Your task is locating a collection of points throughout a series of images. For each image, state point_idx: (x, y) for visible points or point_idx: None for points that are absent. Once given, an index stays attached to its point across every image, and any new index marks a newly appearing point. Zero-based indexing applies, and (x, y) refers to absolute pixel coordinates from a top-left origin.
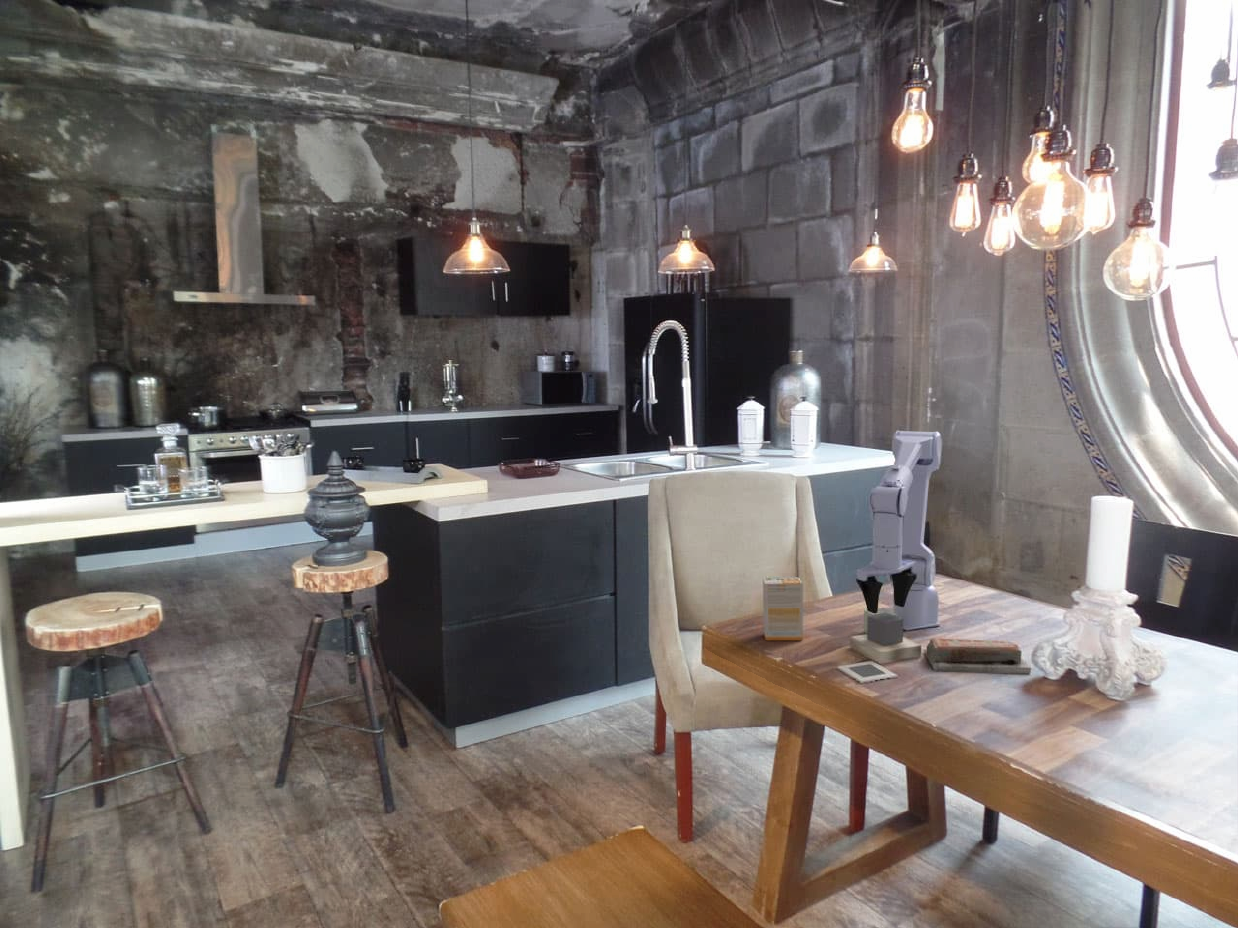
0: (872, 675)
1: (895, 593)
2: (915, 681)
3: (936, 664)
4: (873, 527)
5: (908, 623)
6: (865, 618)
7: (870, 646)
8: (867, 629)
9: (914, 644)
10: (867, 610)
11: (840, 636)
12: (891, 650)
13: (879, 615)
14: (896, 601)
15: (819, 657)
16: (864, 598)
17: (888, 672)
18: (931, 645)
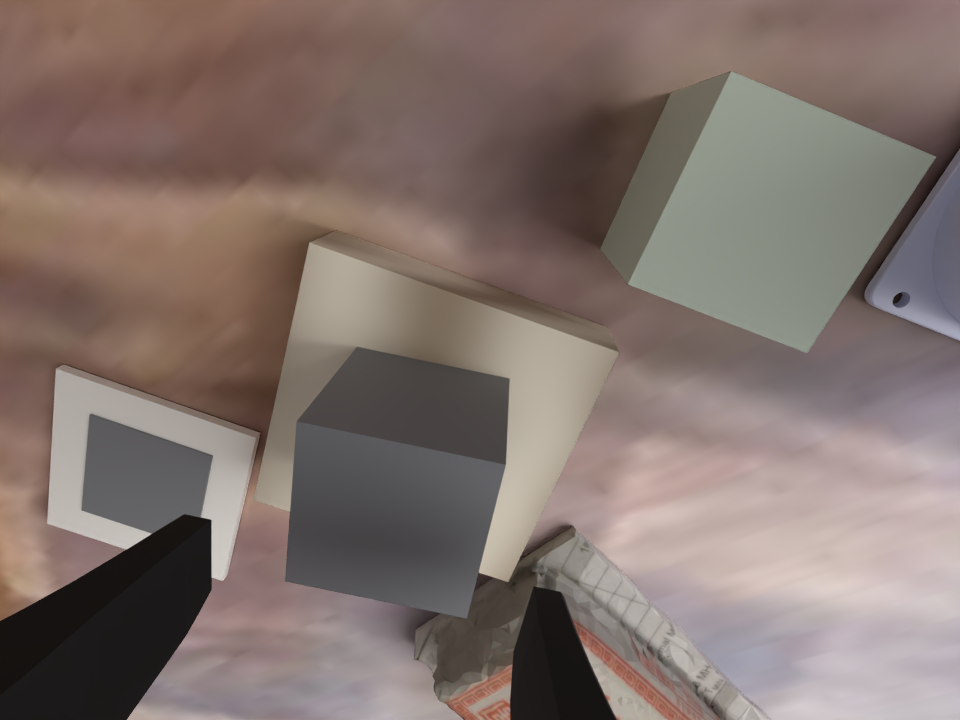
0: (128, 524)
1: (541, 698)
2: (256, 630)
3: (415, 654)
4: None
5: (950, 289)
6: (693, 103)
7: (275, 425)
8: (335, 375)
9: (493, 556)
10: (174, 520)
11: (457, 37)
12: None
13: (394, 474)
14: (528, 635)
15: (73, 202)
16: (58, 590)
17: (214, 548)
18: (487, 651)
